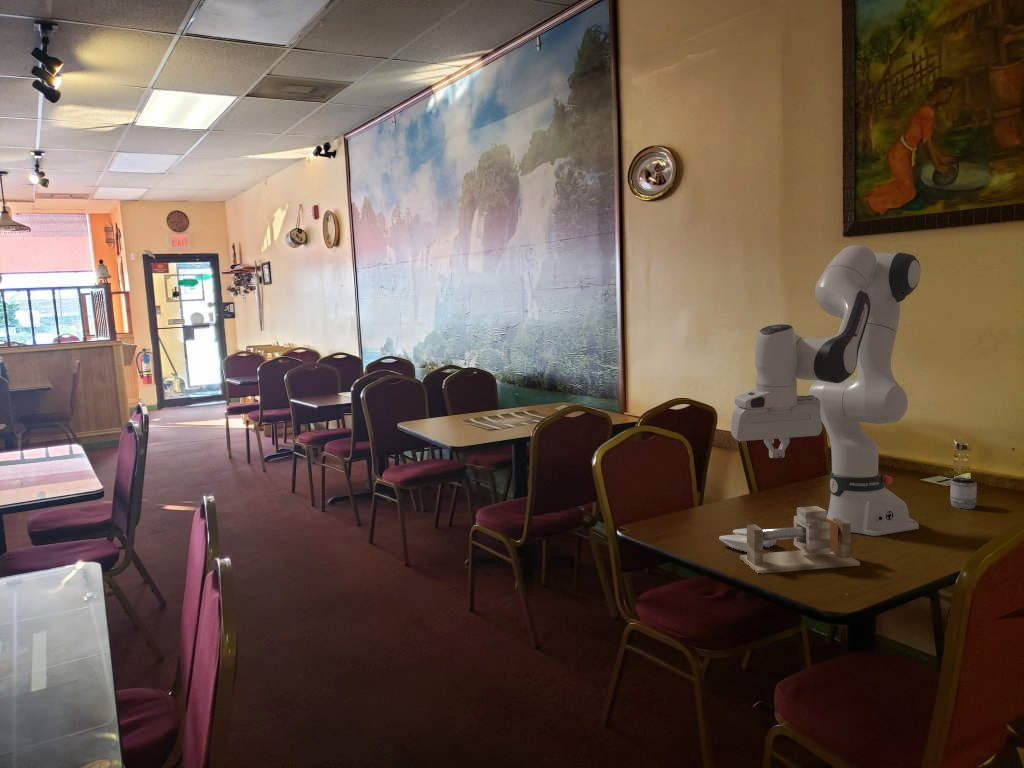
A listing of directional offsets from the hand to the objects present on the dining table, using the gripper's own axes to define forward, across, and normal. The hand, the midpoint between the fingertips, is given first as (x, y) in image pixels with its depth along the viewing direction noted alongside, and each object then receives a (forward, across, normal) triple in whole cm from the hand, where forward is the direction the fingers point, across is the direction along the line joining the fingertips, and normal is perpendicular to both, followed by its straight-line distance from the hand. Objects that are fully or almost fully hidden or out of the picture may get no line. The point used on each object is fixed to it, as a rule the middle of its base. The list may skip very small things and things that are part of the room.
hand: (776, 457), depth 165 cm
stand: (+25, -5, +1) cm, 25 cm away
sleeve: (+22, -8, +1) cm, 23 cm away
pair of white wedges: (+25, +2, -13) cm, 28 cm away
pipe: (+19, -5, +1) cm, 20 cm away
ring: (+22, -11, +1) cm, 25 cm away
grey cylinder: (+26, -70, -30) cm, 80 cm away
